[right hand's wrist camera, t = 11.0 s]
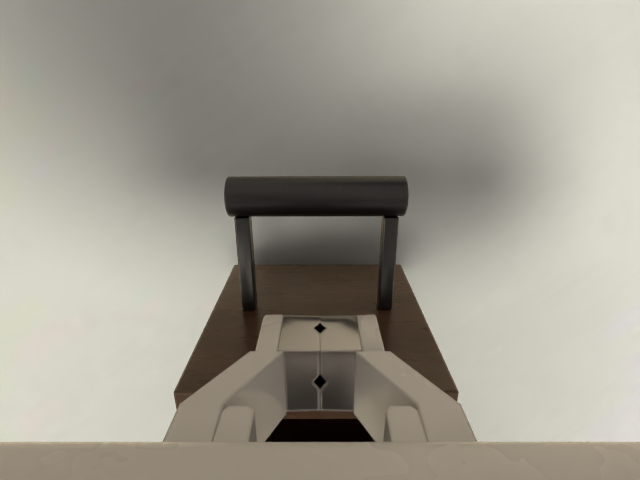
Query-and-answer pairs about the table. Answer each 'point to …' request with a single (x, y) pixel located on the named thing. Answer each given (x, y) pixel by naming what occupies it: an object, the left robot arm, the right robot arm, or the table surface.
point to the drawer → (315, 291)
